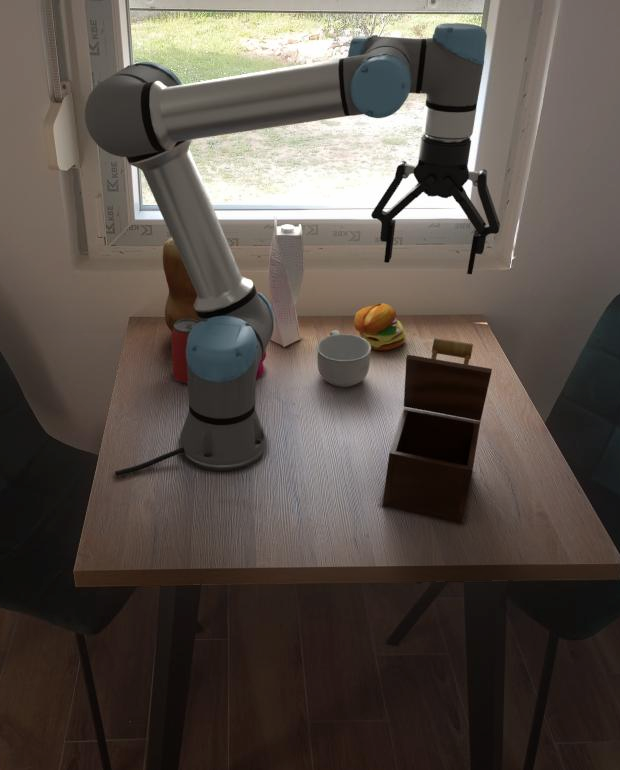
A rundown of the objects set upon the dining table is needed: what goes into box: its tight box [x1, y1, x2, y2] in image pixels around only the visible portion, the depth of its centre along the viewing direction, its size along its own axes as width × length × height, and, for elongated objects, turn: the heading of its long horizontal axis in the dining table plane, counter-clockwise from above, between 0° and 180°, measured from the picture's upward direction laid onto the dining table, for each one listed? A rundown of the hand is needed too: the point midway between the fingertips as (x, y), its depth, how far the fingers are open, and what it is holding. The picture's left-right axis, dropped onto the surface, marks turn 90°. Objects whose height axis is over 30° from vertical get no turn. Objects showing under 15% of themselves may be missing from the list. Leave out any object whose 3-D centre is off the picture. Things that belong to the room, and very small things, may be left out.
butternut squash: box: [162, 236, 200, 333], centre depth 170 cm, size 14×13×25 cm
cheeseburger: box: [353, 302, 407, 351], centre depth 175 cm, size 10×11×10 cm
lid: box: [403, 337, 493, 422], centre depth 128 cm, size 15×13×6 cm
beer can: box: [170, 319, 200, 384], centre depth 160 cm, size 7×7×12 cm
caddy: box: [382, 406, 481, 525], centre depth 131 cm, size 14×13×11 cm
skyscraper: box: [268, 214, 305, 348], centre depth 170 cm, size 8×8×28 cm
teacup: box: [316, 329, 372, 388], centre depth 162 cm, size 14×11×8 cm
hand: (428, 265), depth 132 cm, fingers open, 13 cm apart
